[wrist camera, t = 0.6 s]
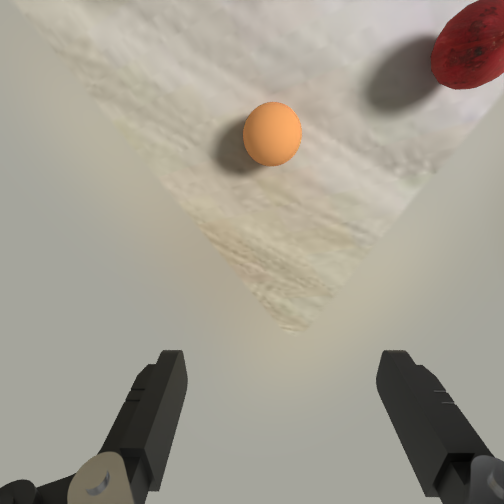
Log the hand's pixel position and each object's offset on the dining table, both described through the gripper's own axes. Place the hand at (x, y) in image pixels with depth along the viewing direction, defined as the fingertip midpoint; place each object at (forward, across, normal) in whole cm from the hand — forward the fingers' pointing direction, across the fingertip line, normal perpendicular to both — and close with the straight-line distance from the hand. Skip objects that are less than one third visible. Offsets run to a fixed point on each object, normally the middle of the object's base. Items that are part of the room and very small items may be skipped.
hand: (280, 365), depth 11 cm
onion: (+22, -16, -14) cm, 31 cm away
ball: (+19, 0, -8) cm, 21 cm away
